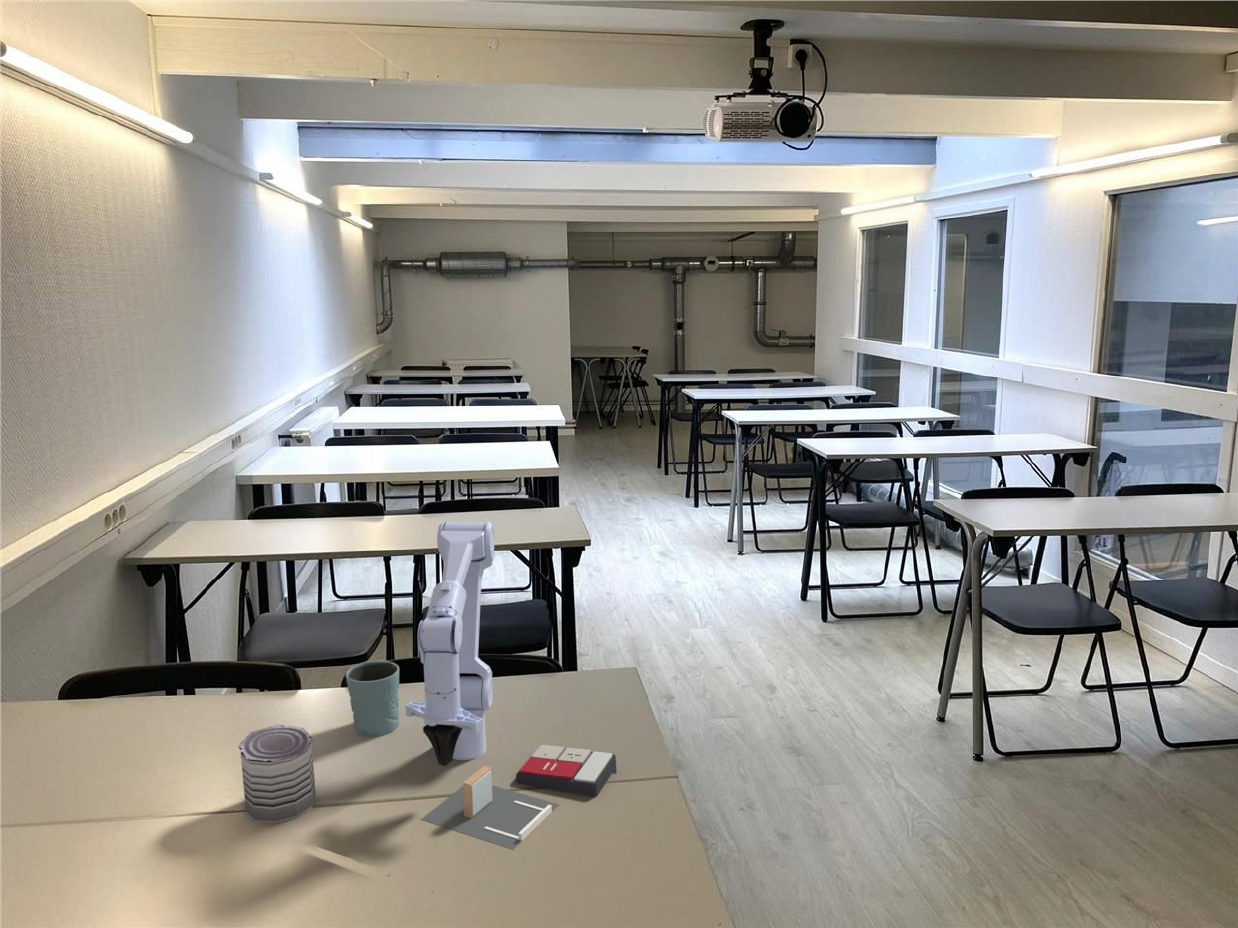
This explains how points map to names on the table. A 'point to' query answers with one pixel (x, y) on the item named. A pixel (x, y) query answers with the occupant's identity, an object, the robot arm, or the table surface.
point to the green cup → (374, 697)
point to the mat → (494, 816)
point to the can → (277, 773)
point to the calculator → (568, 770)
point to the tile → (477, 791)
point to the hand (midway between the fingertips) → (445, 762)
